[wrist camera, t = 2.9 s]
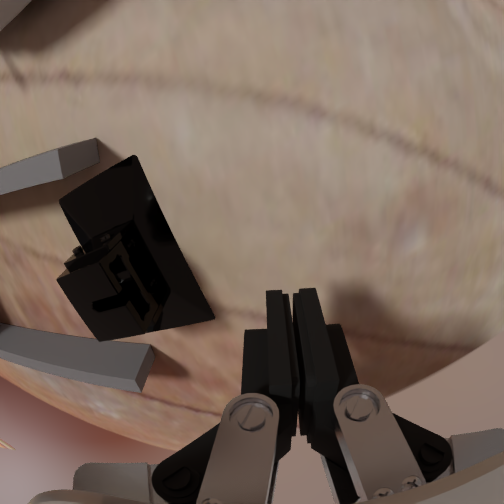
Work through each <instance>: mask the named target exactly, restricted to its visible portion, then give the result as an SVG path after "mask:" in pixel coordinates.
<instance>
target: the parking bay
mask: <svg viewBox="0 0 504 504" xmlns="http://www.w3.org/2000/svg"><path fill="white" fill-rule="evenodd" d="M99 162H100V160H99V154H98V148H97V141H96V138H93V139H89V140H85V141H82V142H78V143H74V144H71V145H67V146H64V147H60V148H57V149H54V150H50V151H47V152H44V153H41V154H38V155H35V156H32V157H29V158H26V159H23V160H20V161H18V162H15V163H12V164H10V165H7V166H4V167H2V168H0V195H2V194H5V193H9V192H12V191H16V190H19V189H23V188H27V187H31V186H35V185H39V184H43V183H47V182H51V181H55V180H60V179H63V178H66V177H68V176H70V175H72V174H74V173H76V172H78V171H81V170H83V169H85V168H87V167H90V166H92V165H94V164H97V163H99ZM0 358H1V359H4V360H7V361H10V362H13V363H16V364H19V365H22V366H25V367H28V368H32V369H35V370H38V371H42V372H45V373H49V374H52V375H56V376H60V377H64V378H68V379H72V380H76V381H81V382H85V383H90V384H94V385H99V386H104V387H110V388H115V389H121V390H127V391H133V392H140V393H141V392H142V390H143V387H144V385H145V382H146V379H147V377H148V374H149V372H150V369H151V367H152V364H153V362H154V359H155V356H154V353H153V351H152V348H151V346H150V344H138V343H127V342H117V341H103V342H99V341H98V340H97V339H91V338H83V337H76V336H69V335H63V334H56V333H50V332H44V331H39V330H33V329H28V328H23V327H18V326H13V325H8V324H4V323H0Z"/></svg>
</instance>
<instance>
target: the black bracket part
mask: <svg viewBox="0 0 504 504" xmlns="http://www.w3.org/2000/svg"><path fill="white" fill-rule="evenodd" d="M59 204H60V206H61V208H62V210H63V212H64V214H65V216H66V218H67V220H68V222H69V224H70V226H71V228H72V230H73V231H74V233H75V235H76V237H77V239H78V241H79V243H80V244H81V246H82V247H81V246H78V247H76V248H75V249H73V250H72V251H73V253H74V254H73V255H72V256H71V257H70V258H69V259H68V260H67V261H66V262H65V263H64V265H65V266H66V268H67V269H66V270H65V271H64V272H63V273H62V274H61V275H60V276H59V277H58V278H57V282H58V284H59V285H60V287H61V288H62V290H63V291H64V293H65V295H66V296H67V298H68V299H69V301H70V302H71V304H72V305H73V307H74V308H75V310H76V311H77V312H78V314H79V315H80V317H81V318H82V320H83V321H84V322H85V324H86V325H87V326H88V328H89V329H90V331H91V332H92V333H93V335H94V336H95V337H96V339H97V340H98V341H99V342H103V341H109V340H114V339H120V338H126V337H131V336H136V335H142V334H145V333H149V332H154V331H160V330H165V329H170V328H175V327H180V326H185V325H190V324H195V323H200V322H205V321H209V320H214V319H215V315H214V313H213V311H212V310H211V308H210V306H209V304H208V302H207V300H206V298H205V297H204V295H203V293H202V291H201V289H200V287H199V285H198V283H197V281H196V279H195V278H194V276H193V274H192V272H191V270H190V268H189V266H188V264H187V262H186V260H185V258H184V256H183V254H182V252H181V250H180V248H179V246H178V244H177V242H176V240H175V238H174V236H173V234H172V232H171V230H170V228H169V225H168V223H167V221H166V219H165V217H164V215H163V213H162V211H161V209H160V206H159V204H158V202H157V200H156V198H155V196H154V193H153V191H152V189H151V187H150V185H149V182H148V180H147V178H146V176H145V173H144V171H143V169H142V167H141V164H140V162H139V160H138V157H137V156H136V155H132V156H130V157H128V158H126V159H125V160H123V161H121V162H119V163H117V164H116V165H114V166H112V167H110V168H109V169H107V170H105V171H104V172H102V173H100V174H99V175H97V176H95V177H94V178H92V179H90V180H89V181H87V182H86V183H84V184H82V185H81V186H79V187H78V188H76V189H75V190H73V191H72V192H70V193H68V194H67V195H65V196H64V197H62V198H61V199H60V200H59Z"/></svg>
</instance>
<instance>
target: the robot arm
mask: <svg viewBox="0 0 504 504" xmlns="http://www.w3.org/2000/svg"><path fill="white" fill-rule="evenodd" d="M266 307H267V329H251V330H245V333H244V349H243V367H242V386H241V395H239V396H237V397H235V398H233V399H232V400H231V401H230V402H229V403H228V404H227V405H226V407H225V409H224V411H223V414H222V417H221V421H220V423H219V424H217V425H216V426H215V427H213V428H212V429H210V430H209V431H208V432H206V433H205V434H203V435H202V436H200V437H199V438H197V439H196V440H194V441H193V442H191V443H190V444H188V445H187V446H185V447H184V448H182V449H181V450H179V451H178V452H176V453H175V454H173V455H172V456H170V457H169V458H167V459H165V460H164V461H162V462H161V463H160V464H156V465H155V464H154V465H149V464H147V463H85V464H83V465H82V466H80V467H79V468H78V469H77V470H76V472H75V475H74V478H73V490H52V491H47V492H43V493H40V494H38V495H36V496H35V497H34V498H33V499H31V500H30V502H29V503H28V504H272V503H273V497H274V491H275V485H276V478H277V472H278V465H279V460H280V459H281V458H282V457H283V456H284V455H285V454H286V453H287V452H289V451H290V449H291V437H292V436H296V427H297V416H298V415H299V426H300V434H301V436H302V435H307V443H311V448H312V449H314V450H315V451H317V452H318V453H320V455H321V460H322V463H323V467H324V470H325V473H326V476H327V480H328V483H329V486H330V489H331V492H332V495H333V499H334V502H335V504H504V429H502V428H499V429H498V428H496V429H491V430H485V431H479V432H473V433H466V434H459V435H452V436H451V437H450V438H445V439H444V438H443V437H441V436H440V435H437V434H435V433H433V432H431V431H428V430H426V429H424V428H422V427H420V426H418V425H416V424H414V423H412V422H410V421H408V420H406V419H404V418H402V417H399V416H398V415H396V414H394V413H392V412H391V410H390V408H389V406H388V404H387V402H386V400H385V398H384V397H383V395H382V394H381V393H380V392H379V391H378V390H376V389H375V388H374V387H371V386H368V385H363V384H359V382H358V379H357V375H356V372H355V369H354V365H353V362H352V359H351V355H350V352H349V349H348V345H347V342H346V339H345V336H344V333H343V330H342V327H341V325H340V324H330V325H326V324H325V321H324V317H323V313H322V310H321V306H320V302H319V299H318V295H317V291H316V288H304V289H299V293H293V323H292V315H291V308H290V301H289V295H288V294H282V290H269V291H266Z"/></svg>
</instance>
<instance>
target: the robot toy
mask: <svg viewBox="0 0 504 504" xmlns="http://www.w3.org/2000/svg"><path fill="white" fill-rule="evenodd" d="M31 1H32V0H0V31H1V30H2V29H3V28H4V27H5V26H6V25H7V24H8V23H9V22H10V21H12V20H13V19H14V18H15V17H16V16H17V15H18V14H19V13H20V12H21V11H22V10H23V9H24V8H25V7H26V6H27V5H28V4H29V3H30V2H31Z"/></svg>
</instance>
